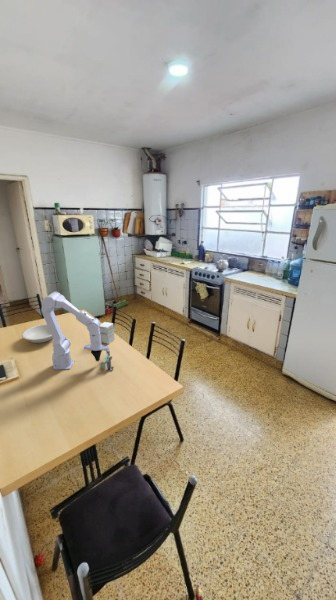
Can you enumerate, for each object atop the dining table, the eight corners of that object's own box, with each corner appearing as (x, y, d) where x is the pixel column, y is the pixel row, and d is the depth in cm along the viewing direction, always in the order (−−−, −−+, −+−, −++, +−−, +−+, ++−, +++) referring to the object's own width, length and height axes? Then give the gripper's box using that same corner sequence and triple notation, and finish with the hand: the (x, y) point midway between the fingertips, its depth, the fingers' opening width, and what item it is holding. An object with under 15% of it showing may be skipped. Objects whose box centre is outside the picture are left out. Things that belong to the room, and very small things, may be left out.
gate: (107, 359, 151) (106, 353, 150) (109, 359, 151) (108, 353, 150) (103, 369, 142) (102, 363, 140) (105, 369, 142) (104, 363, 140)
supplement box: (99, 342, 171) (98, 325, 167) (106, 337, 178) (104, 321, 174) (109, 344, 169) (107, 327, 164) (115, 339, 175) (113, 323, 171)
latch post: (106, 371, 141) (105, 362, 139) (108, 367, 145) (107, 359, 143) (112, 370, 141) (111, 362, 139) (113, 367, 145) (112, 358, 143)
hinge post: (105, 360, 151) (104, 352, 149) (106, 357, 154) (105, 349, 153) (111, 360, 151) (110, 352, 149) (112, 357, 155) (111, 349, 153)
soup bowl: (68, 336, 180) (67, 328, 177) (36, 352, 161) (34, 343, 158) (48, 328, 192) (46, 320, 189) (16, 342, 173) (14, 333, 170)
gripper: (110, 337, 144) (112, 357, 148) (86, 335, 146) (89, 355, 150) (105, 343, 137) (108, 364, 142) (80, 341, 139) (83, 362, 144)
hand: (98, 360), depth 146 cm, fingers closed
